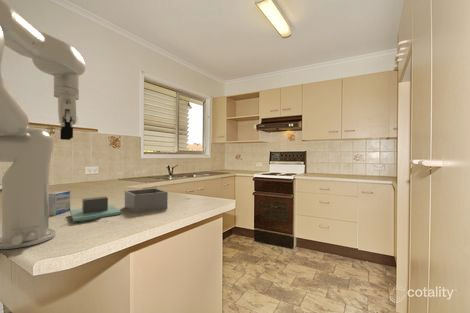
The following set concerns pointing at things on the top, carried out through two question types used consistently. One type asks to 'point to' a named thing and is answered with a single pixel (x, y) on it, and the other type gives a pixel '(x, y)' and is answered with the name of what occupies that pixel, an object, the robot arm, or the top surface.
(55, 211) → the medicine box
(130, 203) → the bin
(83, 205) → the lid
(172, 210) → the top surface
